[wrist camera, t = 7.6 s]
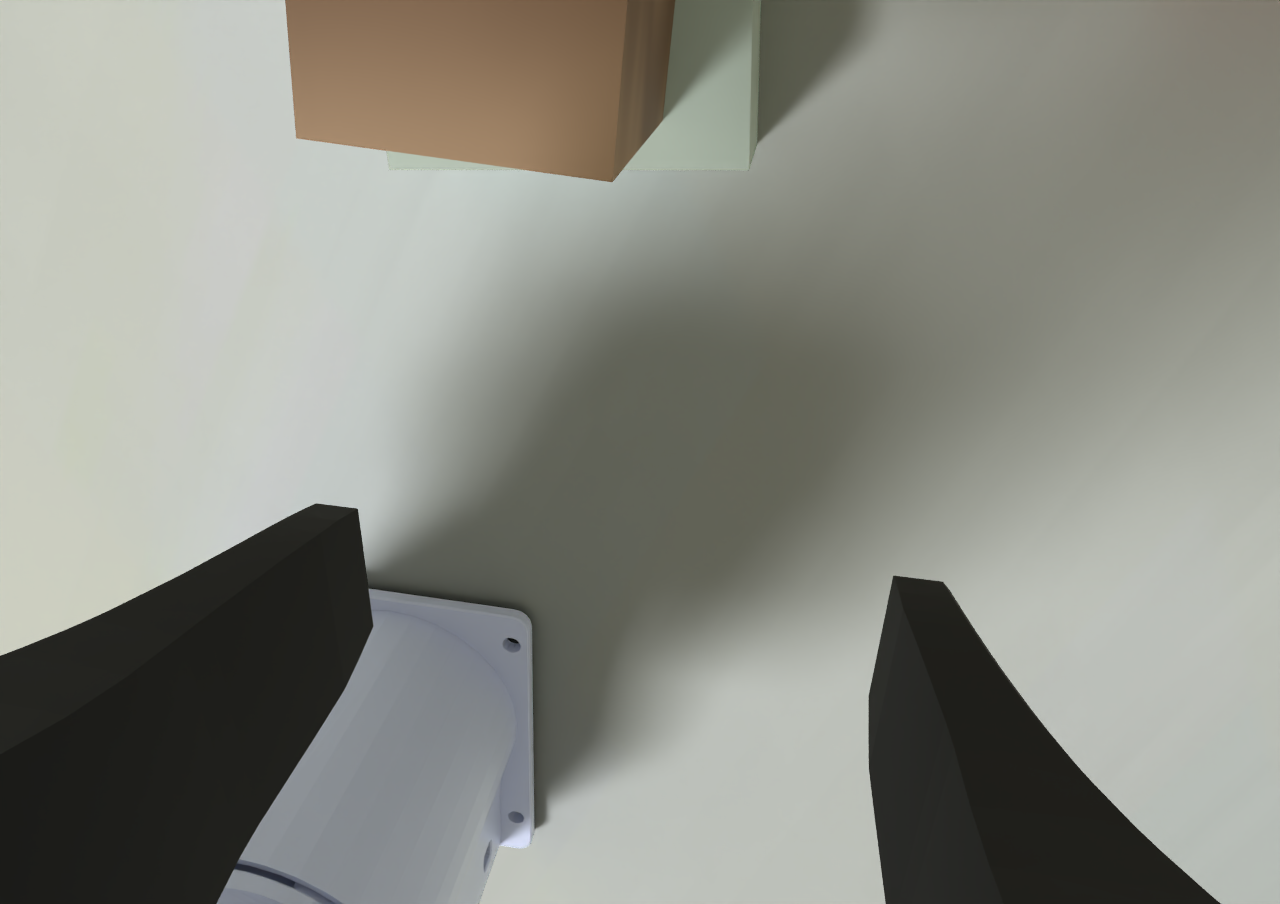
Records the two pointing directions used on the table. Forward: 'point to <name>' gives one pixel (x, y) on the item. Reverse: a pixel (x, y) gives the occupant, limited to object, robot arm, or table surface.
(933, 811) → the robot arm
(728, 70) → the base block
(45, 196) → the table surface
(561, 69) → the walnut block
